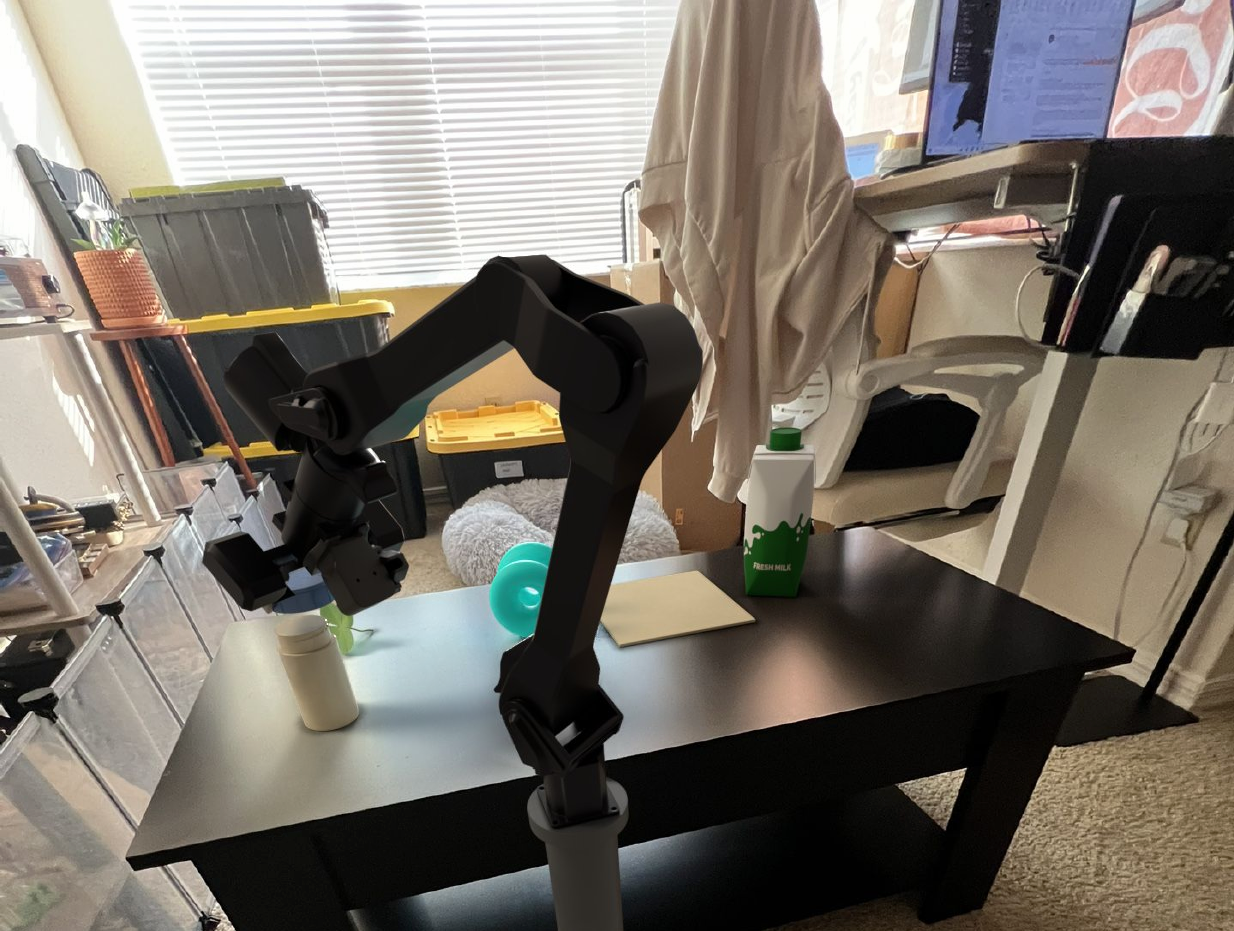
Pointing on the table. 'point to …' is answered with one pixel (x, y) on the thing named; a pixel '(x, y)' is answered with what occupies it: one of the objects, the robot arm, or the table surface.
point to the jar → (316, 672)
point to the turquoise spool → (520, 587)
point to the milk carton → (778, 514)
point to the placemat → (668, 608)
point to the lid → (305, 594)
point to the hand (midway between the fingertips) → (294, 598)
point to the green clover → (340, 626)
